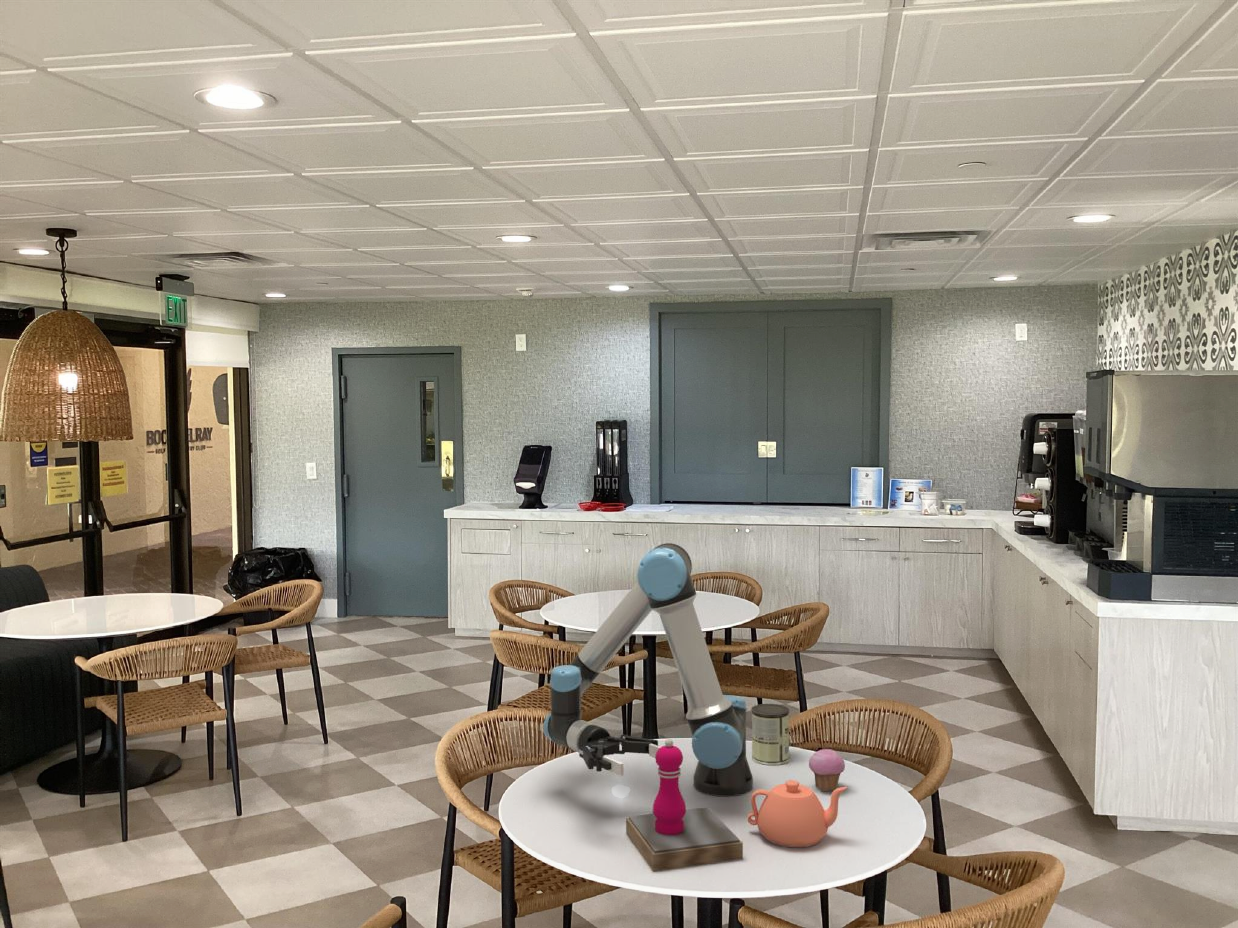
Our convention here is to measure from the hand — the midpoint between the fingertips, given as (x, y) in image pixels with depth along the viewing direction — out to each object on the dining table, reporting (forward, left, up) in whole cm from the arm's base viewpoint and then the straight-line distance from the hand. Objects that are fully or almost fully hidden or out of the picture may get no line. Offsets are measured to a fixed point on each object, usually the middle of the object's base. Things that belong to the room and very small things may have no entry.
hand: (645, 763), depth 222 cm
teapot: (-32, +10, -17) cm, 38 cm away
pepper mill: (-3, +7, -13) cm, 15 cm away
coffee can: (-48, -39, -17) cm, 64 cm away
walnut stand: (-6, +7, -17) cm, 19 cm away
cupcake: (-52, -14, -17) cm, 56 cm away
